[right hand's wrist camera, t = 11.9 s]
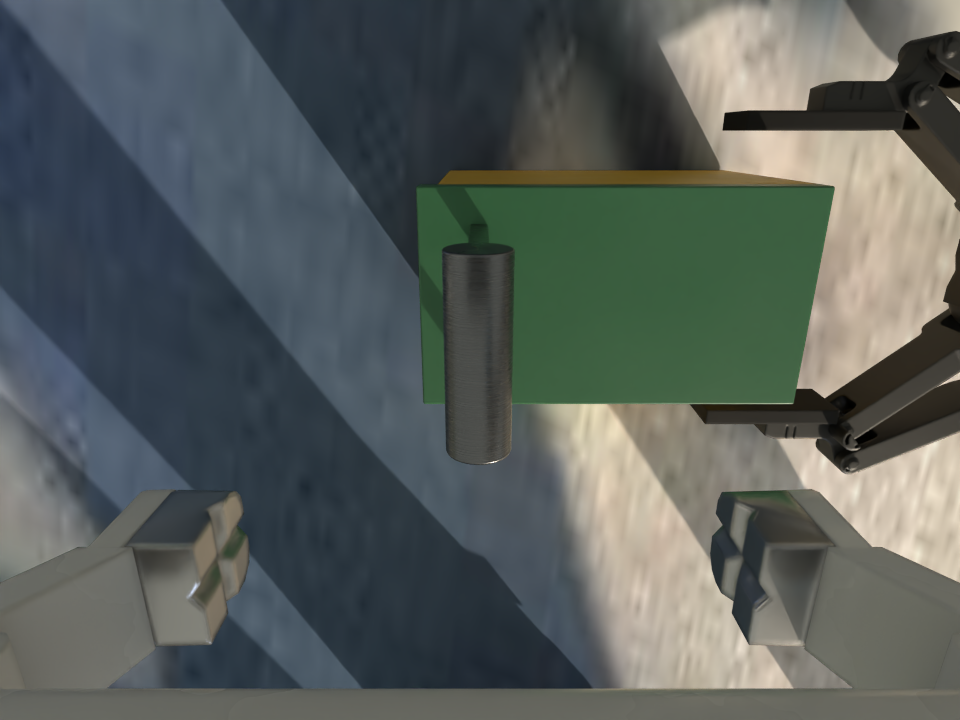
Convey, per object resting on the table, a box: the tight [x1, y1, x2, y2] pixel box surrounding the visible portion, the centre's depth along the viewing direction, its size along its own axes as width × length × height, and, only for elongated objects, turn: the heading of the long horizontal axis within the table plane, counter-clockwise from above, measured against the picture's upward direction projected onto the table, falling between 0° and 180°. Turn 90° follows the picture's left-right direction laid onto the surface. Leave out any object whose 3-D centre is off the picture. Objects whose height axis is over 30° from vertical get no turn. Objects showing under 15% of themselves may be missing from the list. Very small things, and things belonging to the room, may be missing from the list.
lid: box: [416, 184, 835, 465], centre depth 22 cm, size 16×9×8 cm, turn 90°
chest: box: [438, 170, 815, 184], centre depth 30 cm, size 15×9×10 cm, turn 90°
